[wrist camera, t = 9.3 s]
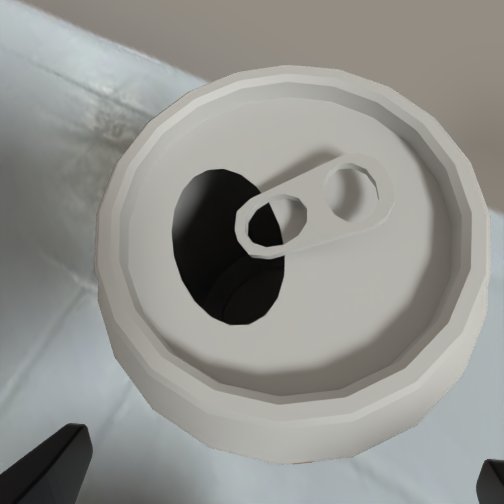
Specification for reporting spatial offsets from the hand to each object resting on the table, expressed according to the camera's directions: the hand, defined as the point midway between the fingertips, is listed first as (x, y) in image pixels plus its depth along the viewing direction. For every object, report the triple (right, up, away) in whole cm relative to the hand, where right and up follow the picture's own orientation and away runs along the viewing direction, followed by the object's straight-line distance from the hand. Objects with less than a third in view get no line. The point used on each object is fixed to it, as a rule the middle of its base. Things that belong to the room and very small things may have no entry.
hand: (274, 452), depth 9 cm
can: (+1, +1, +8) cm, 9 cm away
